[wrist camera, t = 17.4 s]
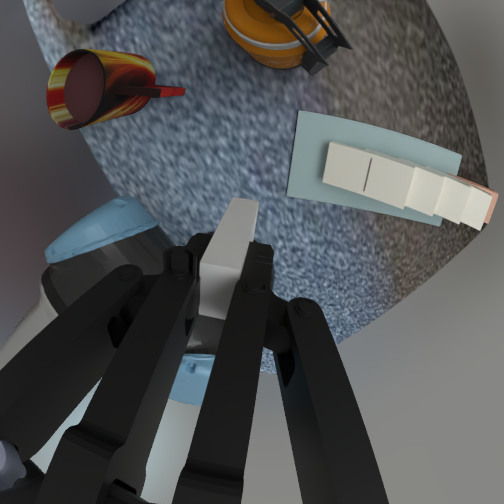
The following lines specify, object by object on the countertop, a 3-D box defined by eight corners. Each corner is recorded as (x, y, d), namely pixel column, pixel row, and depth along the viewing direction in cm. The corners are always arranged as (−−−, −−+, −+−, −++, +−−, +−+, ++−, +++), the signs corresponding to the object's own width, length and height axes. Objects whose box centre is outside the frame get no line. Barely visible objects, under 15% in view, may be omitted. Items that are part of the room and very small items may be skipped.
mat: (286, 195, 38) (286, 196, 38) (298, 110, 32) (298, 110, 32) (438, 225, 37) (439, 226, 37) (461, 154, 31) (462, 155, 30)
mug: (190, 94, 32) (148, 97, 22) (109, 123, 35) (56, 141, 25) (175, 33, 28) (130, 16, 17) (96, 69, 31) (41, 73, 20)
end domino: (442, 210, 34) (488, 223, 33) (453, 176, 31) (498, 194, 30) (437, 205, 35) (482, 218, 35) (447, 172, 32) (492, 189, 32)
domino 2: (355, 188, 34) (432, 216, 30) (364, 149, 32) (444, 178, 27) (358, 185, 36) (431, 212, 32) (366, 148, 33) (443, 175, 29)
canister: (282, -2, 24) (271, -82, 7) (343, 55, 27) (398, 20, 10) (230, 38, 28) (168, -11, 11) (290, 95, 31) (291, 94, 14)
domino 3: (388, 196, 34) (459, 224, 30) (398, 158, 31) (471, 188, 27) (389, 192, 36) (457, 220, 31) (399, 157, 33) (469, 185, 28)
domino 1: (322, 182, 35) (403, 209, 31) (329, 142, 32) (415, 168, 28) (326, 179, 36) (403, 205, 32) (333, 141, 33) (414, 166, 29)
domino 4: (416, 202, 34) (480, 230, 30) (426, 167, 31) (492, 196, 27) (416, 199, 35) (477, 226, 31) (425, 165, 32) (489, 193, 28)
